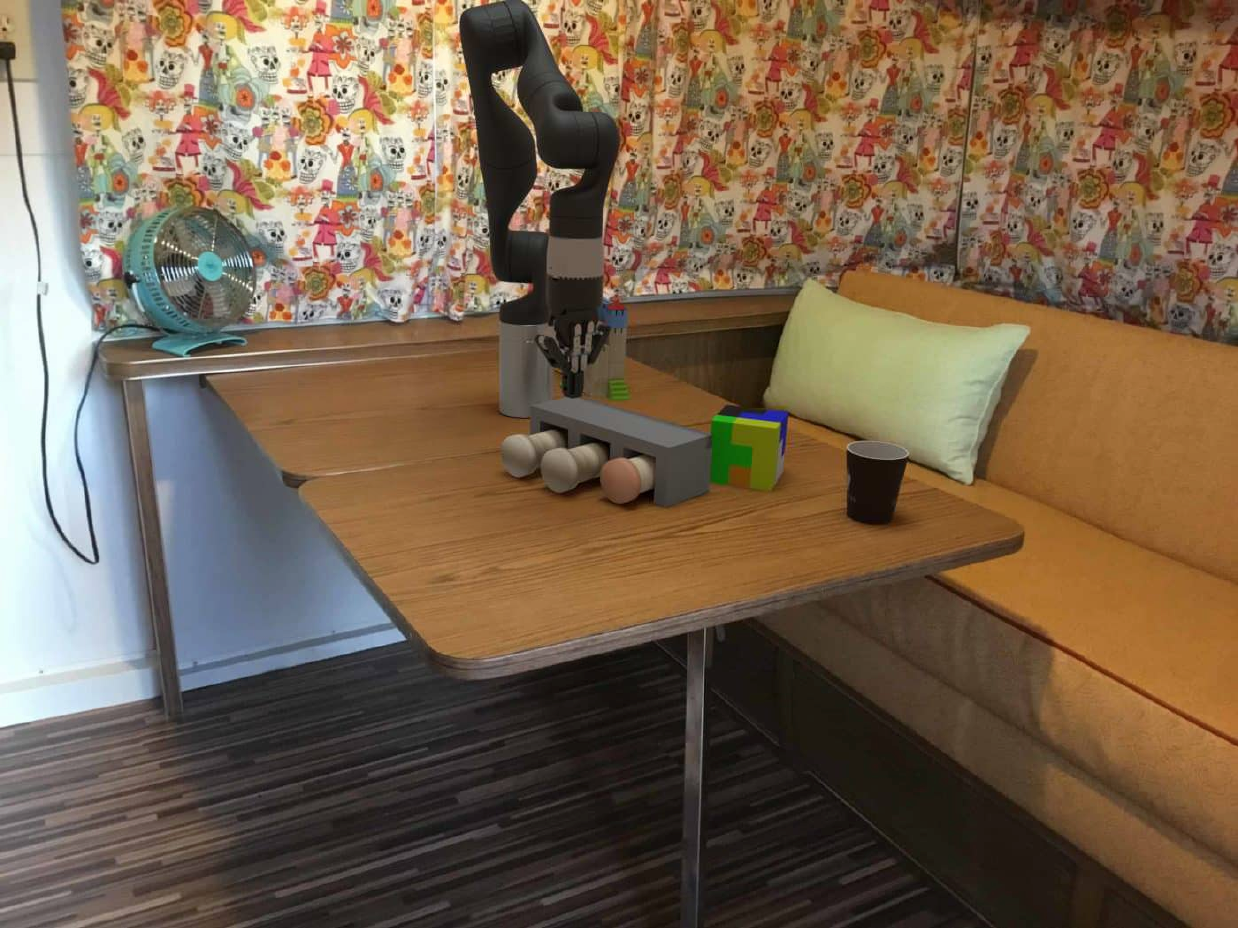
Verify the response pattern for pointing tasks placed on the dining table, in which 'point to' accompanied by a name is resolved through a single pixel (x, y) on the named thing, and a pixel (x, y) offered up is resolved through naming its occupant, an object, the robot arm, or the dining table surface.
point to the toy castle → (609, 357)
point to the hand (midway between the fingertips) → (572, 396)
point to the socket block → (634, 442)
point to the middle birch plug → (573, 465)
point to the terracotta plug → (628, 477)
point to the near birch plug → (530, 450)
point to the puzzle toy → (748, 447)
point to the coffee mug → (874, 480)
